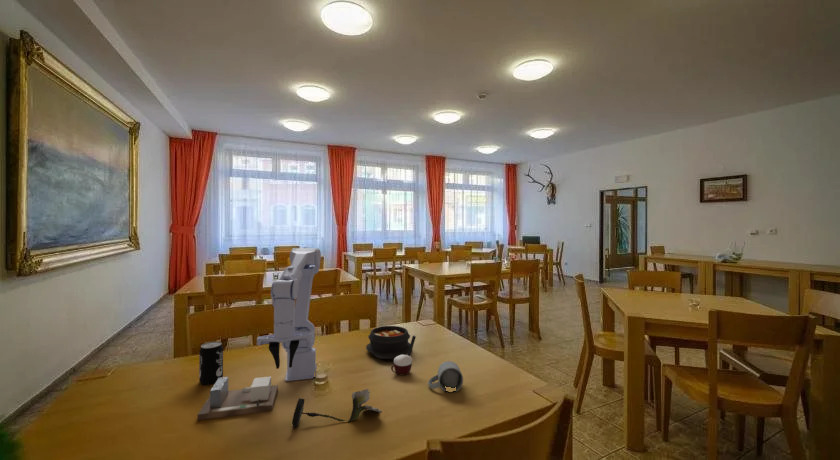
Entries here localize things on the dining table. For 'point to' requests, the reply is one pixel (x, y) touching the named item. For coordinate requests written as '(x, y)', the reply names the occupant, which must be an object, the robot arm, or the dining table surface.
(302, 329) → the robot arm
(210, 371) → the beverage can
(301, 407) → the artificial flower
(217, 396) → the grey block
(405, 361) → the cocoa
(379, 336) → the casserole
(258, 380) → the gauge carriage
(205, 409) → the base
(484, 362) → the dining table surface
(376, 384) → the dining table surface
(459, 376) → the ceramic mug
